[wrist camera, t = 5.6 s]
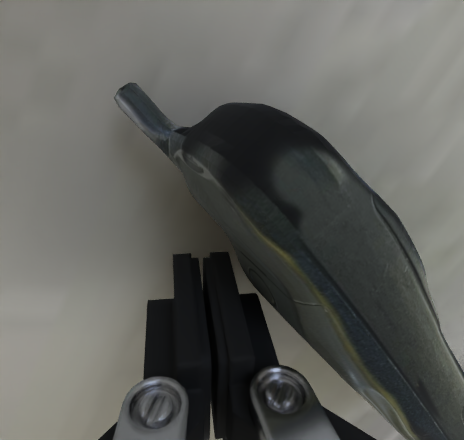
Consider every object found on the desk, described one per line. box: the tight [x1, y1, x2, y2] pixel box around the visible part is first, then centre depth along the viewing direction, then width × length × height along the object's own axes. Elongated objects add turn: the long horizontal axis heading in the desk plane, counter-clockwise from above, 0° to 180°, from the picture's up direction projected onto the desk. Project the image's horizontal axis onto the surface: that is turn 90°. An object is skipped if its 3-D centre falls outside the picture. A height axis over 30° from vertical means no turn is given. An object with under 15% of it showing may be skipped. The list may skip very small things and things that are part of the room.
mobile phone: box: [114, 83, 464, 440], centre depth 11 cm, size 5×3×15 cm
